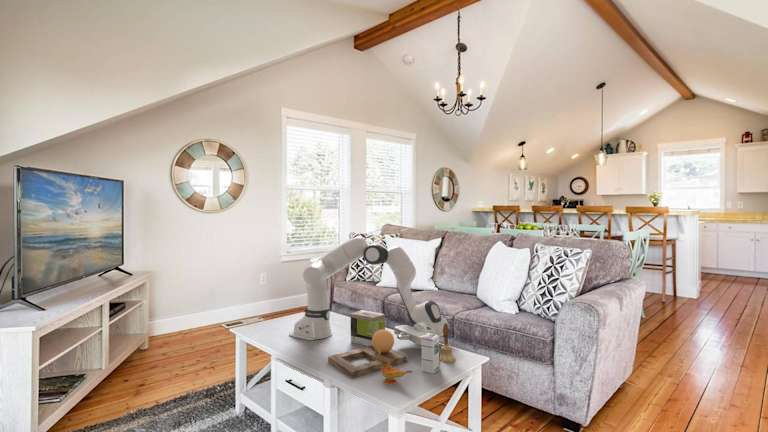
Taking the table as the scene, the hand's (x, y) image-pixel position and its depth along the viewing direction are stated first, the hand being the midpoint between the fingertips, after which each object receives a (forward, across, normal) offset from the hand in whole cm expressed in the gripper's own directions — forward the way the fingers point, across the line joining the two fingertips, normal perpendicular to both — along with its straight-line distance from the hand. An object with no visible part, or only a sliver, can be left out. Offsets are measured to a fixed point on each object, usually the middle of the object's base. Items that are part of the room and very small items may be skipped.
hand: (398, 337), depth 182 cm
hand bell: (-13, +18, +8) cm, 23 cm away
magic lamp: (+20, +22, +8) cm, 31 cm away
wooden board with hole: (+17, -1, +8) cm, 19 cm away
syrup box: (+1, +22, +8) cm, 23 cm away
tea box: (+3, -21, +8) cm, 23 cm away
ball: (+9, -1, 0) cm, 9 cm away
